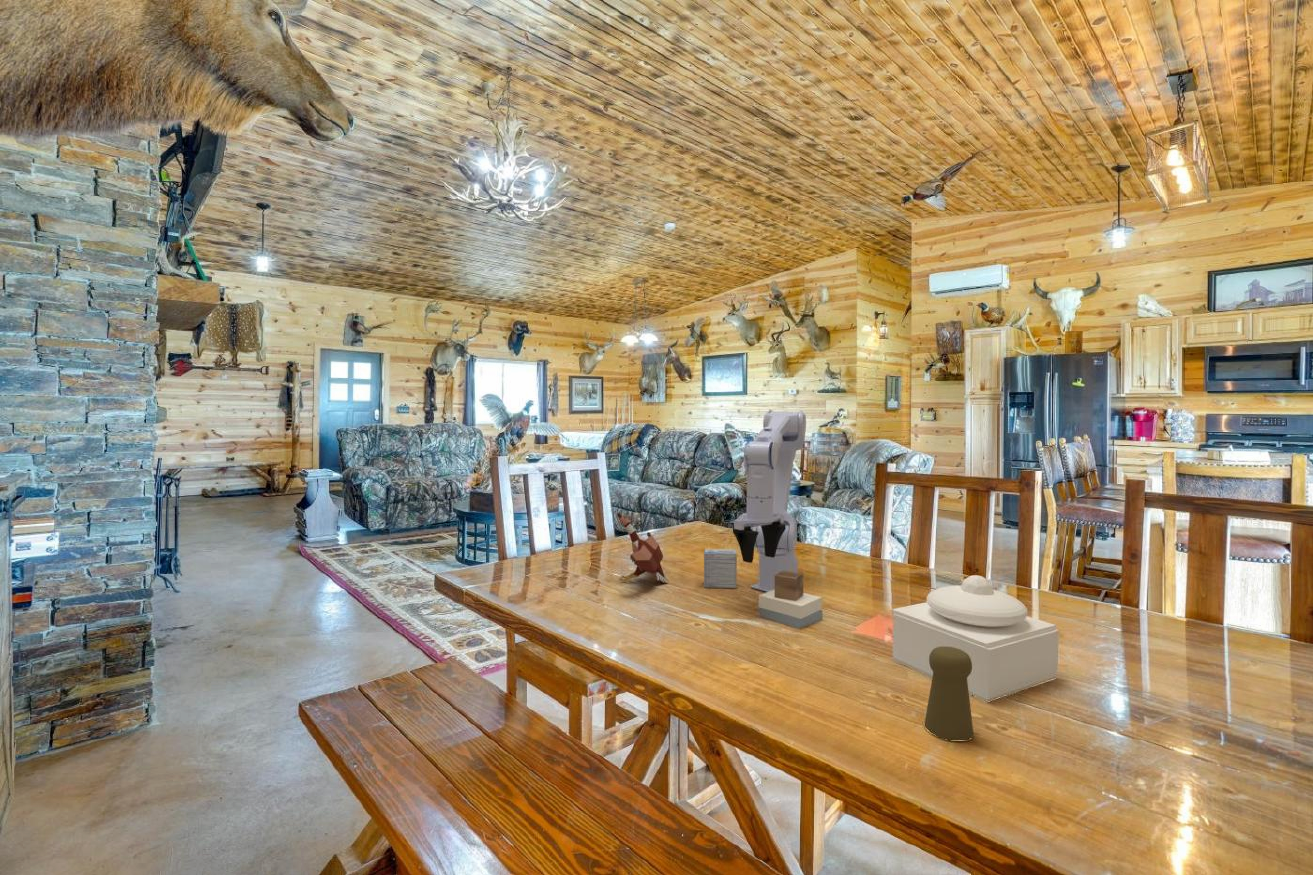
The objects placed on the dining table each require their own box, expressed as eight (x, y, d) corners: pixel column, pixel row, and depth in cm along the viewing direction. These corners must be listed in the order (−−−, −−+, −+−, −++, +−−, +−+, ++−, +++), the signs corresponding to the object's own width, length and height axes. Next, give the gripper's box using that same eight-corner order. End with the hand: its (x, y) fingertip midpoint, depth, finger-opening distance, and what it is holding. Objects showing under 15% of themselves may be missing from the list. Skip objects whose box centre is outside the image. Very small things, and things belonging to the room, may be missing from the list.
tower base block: (782, 610, 134) (782, 599, 134) (822, 622, 127) (822, 610, 127) (758, 618, 129) (759, 606, 129) (799, 631, 121) (799, 618, 121)
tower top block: (779, 598, 134) (780, 587, 134) (821, 609, 127) (821, 597, 127) (758, 607, 128) (758, 595, 128) (801, 618, 121) (801, 606, 121)
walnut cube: (782, 591, 131) (782, 570, 130) (803, 594, 128) (803, 573, 128) (774, 597, 127) (774, 575, 126) (795, 600, 124) (795, 578, 124)
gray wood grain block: (736, 583, 152) (736, 549, 152) (736, 589, 148) (737, 553, 147) (704, 582, 153) (704, 548, 153) (703, 588, 149) (703, 552, 148)
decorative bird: (607, 552, 169) (628, 503, 168) (668, 581, 167) (690, 531, 166) (580, 581, 141) (605, 522, 140) (653, 616, 139) (679, 556, 138)
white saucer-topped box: (987, 704, 91) (990, 597, 90) (890, 660, 107) (892, 568, 106) (1057, 680, 99) (1061, 582, 98) (957, 642, 115) (959, 557, 114)
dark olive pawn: (915, 719, 86) (917, 641, 85) (957, 718, 86) (959, 640, 86) (939, 743, 80) (941, 659, 79) (983, 741, 80) (986, 658, 80)
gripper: (766, 492, 142) (765, 551, 142) (723, 497, 132) (722, 560, 132) (791, 495, 136) (790, 556, 137) (749, 500, 127) (748, 566, 127)
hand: (759, 559), depth 134 cm, fingers open, 7 cm apart
